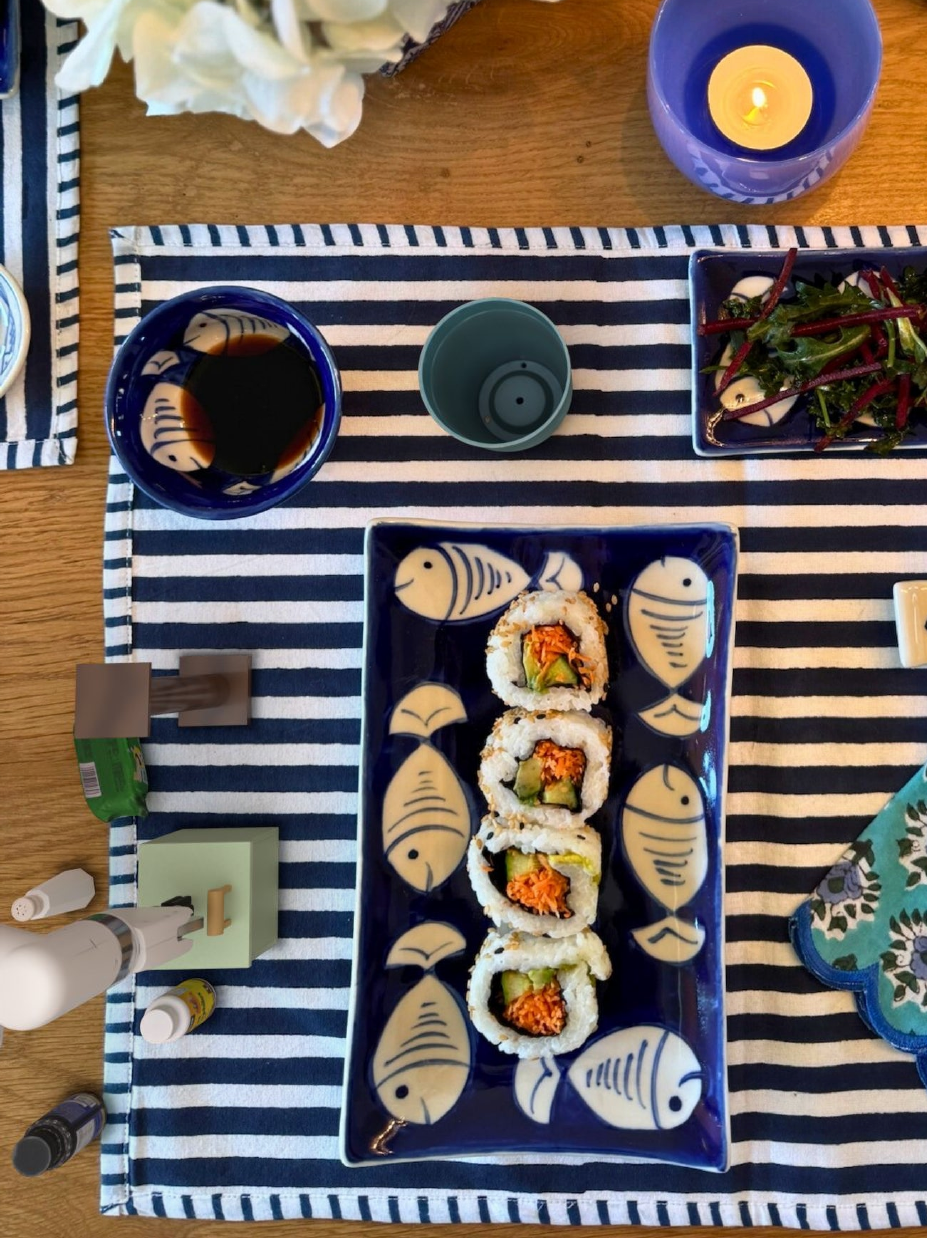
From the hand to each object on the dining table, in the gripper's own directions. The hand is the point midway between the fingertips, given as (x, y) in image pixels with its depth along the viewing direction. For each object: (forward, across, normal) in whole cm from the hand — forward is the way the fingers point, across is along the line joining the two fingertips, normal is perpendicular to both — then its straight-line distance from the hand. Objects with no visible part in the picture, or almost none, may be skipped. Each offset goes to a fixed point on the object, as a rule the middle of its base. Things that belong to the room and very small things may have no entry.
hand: (184, 909), depth 127 cm
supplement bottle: (+12, -4, -14) cm, 19 cm away
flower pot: (+13, +38, +62) cm, 74 cm away
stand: (+12, -2, +25) cm, 28 cm away
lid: (+2, 0, 0) cm, 2 cm away
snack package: (+12, -14, +16) cm, 25 cm away
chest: (+12, 0, 0) cm, 12 cm away
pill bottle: (+12, -18, -28) cm, 36 cm away
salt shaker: (+12, -20, 0) cm, 24 cm away
